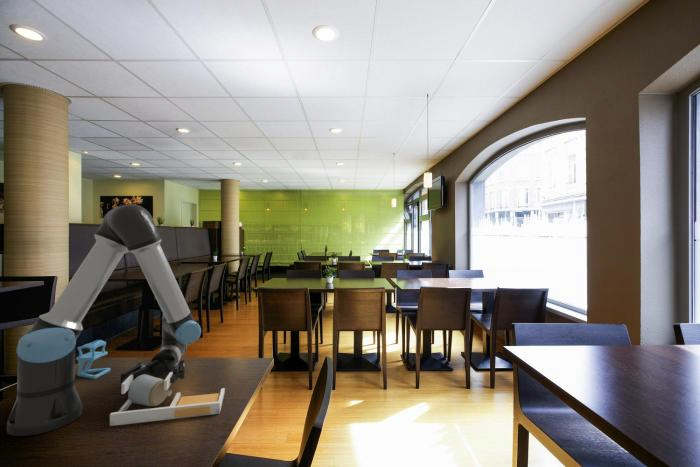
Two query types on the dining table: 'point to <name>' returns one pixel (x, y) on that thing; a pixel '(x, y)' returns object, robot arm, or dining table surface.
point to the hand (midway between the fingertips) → (144, 387)
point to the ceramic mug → (148, 390)
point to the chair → (91, 359)
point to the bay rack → (171, 409)
